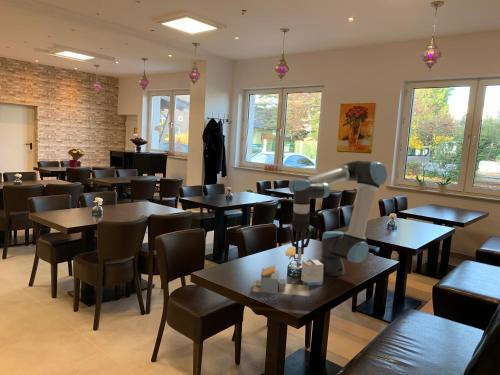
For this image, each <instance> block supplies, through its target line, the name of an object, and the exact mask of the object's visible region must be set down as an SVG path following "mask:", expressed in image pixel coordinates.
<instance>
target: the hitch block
mask: <svg viewBox="0 0 500 375" xmlns="http://www.w3.org/2000/svg"><path fill="white" fill-rule="evenodd" d="M279 272H280V271H279V270H275V273H273V274H270V275H267V276H264V277H261V276H260V281H261V290H260V292H259V293H266V292H272V293H271V294H278V293H277V292H278V282H279V275H280V273H279Z"/></svg>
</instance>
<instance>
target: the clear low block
mask: <svg viewBox="0 0 500 375" xmlns="http://www.w3.org/2000/svg"><path fill="white" fill-rule="evenodd" d="M255 281H256V287H261V279H260V280H258V279H257V280H255ZM286 282H287V280H286V279H285V278H278V288H279V291H285V286H286V284H287V283H286Z"/></svg>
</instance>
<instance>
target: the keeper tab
mask: <svg viewBox="0 0 500 375" xmlns="http://www.w3.org/2000/svg"><path fill="white" fill-rule="evenodd" d="M275 271H276V265H275V264H274V265H272V266H268V267H266V268H262V270H261V275H260V278H261V277H264V276H267V275H270V274H273V273H275Z"/></svg>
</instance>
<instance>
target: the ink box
mask: <svg viewBox="0 0 500 375" xmlns="http://www.w3.org/2000/svg"><path fill="white" fill-rule="evenodd" d="M306 258H307V259H306V260H305V259H304V260H302V259H301V278H300V280H301V281H302V282H303V283H304V284H306V285H307V286H308V287H309V286H322V285H323V284H324V283H323V282H324V274H323V266H324V264H322V263H321V262H319V261H320V260H318V259H311V258H309V257H306Z"/></svg>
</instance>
